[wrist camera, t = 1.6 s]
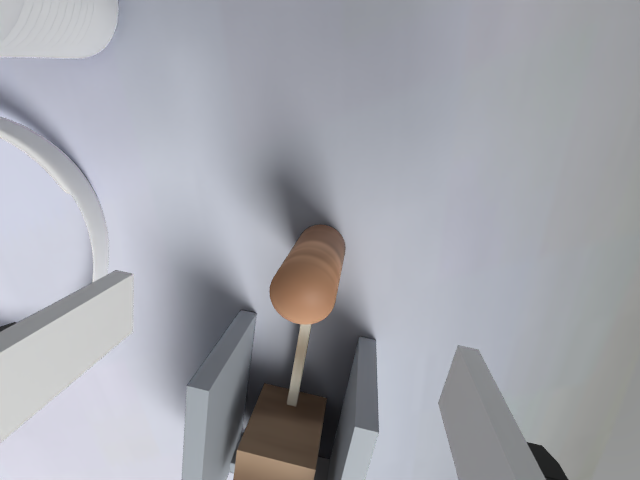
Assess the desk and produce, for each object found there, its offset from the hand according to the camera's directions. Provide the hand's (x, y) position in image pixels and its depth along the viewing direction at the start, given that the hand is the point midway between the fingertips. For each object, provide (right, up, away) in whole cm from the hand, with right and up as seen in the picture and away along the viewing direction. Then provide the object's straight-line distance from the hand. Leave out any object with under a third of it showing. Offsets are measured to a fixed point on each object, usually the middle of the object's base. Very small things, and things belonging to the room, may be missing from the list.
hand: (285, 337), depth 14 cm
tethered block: (0, -4, +12) cm, 12 cm away
